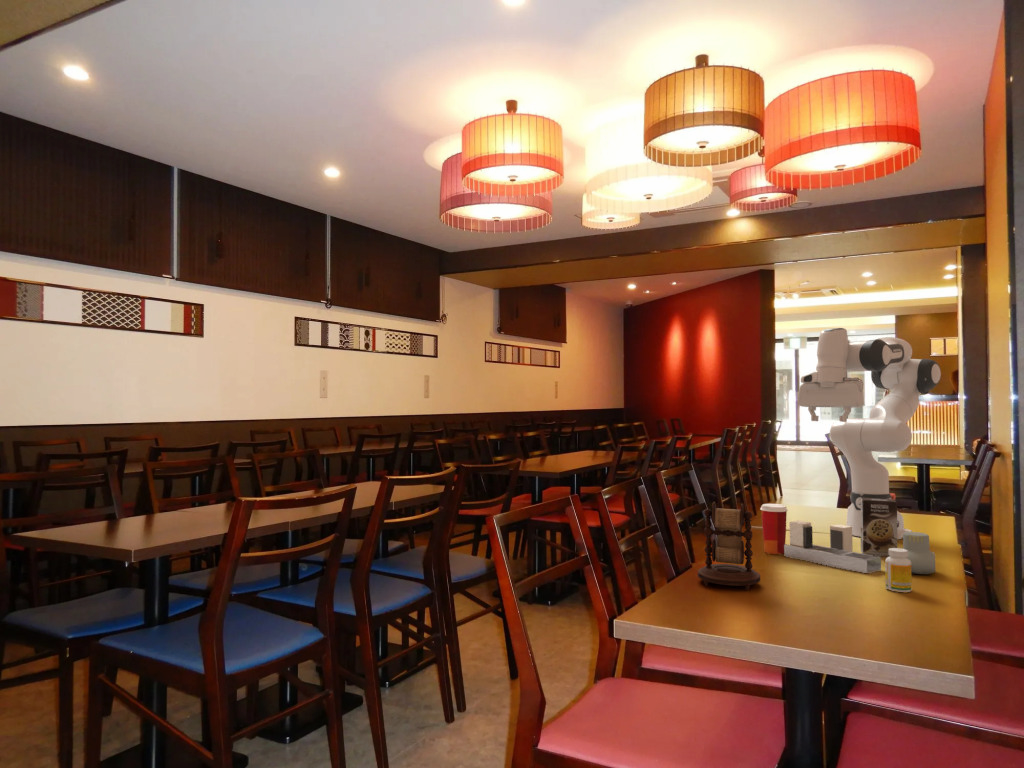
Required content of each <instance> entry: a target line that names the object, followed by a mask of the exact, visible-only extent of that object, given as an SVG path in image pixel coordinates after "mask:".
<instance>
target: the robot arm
mask: <svg viewBox="0 0 1024 768" xmlns="http://www.w3.org/2000/svg"><path fill="white" fill-rule="evenodd" d="M816 356H817V364H816V368H815V371H812V372H811V373H810V372H809V374H806V375H803V376H801V377H800V383H802V384H800V386H799V389H798V394H797V404H798V405H799V407H804V408H808V409H807V410H808V412H809V414H810V421H811V422H819V415H817V413H816V411H817V408H843V409H842V411H844V412H843V414H842V415H839V419H838V420H835V421H834V422H833V423H832V425H831V427H830V429H829V439H830V440H831V443H832V444H833V446H835V447H836V448H837V449H838V450H839V451H841V452H842V453H843V455H844V457H845V459H846V461H847V462H848V466H849V470H850V478H851V491H850V494H849V497H850V502H851V504H850V505H848V507H847V512H846V513H847V514H846V526H852V536H855V537H860V538H861V498H878V499H894V500H895V501H896V493H890V476H889V471H888V468H886V467H885V466H884V465H883V464H881V463H880V462H879V461H877V460H876V459H875V457H874V456H873V453H872V452H879V453H894V452H902V451H905V450H907V449H908V447H909V446H910V445H911V442H912V439H913V434H912V430H911V427H910V426H909V425H908V424H907V423H908V422H909V421H910V420H911V418H912V417H914V414H915V413H916V411H917V410H918V408H919V405H920V399H919V396H920V395H924V396H925V395H928V394H929V393H930V391H931V390H933V389H934V388H936V387H937V386H938V385H939V383H940V381H941V377H942V371H941V367H940V364H939V363H938V362H937V361H936V360H934V359H930V358H929V359H928V358H919V359H918V358H912V356H913V347H912V345H911V344H910V343H909V342H908V341H906V340H905V339H902V338H899V337H893V336H891V337H890V336H889V337H888V336H886V337H877V338H875V339H870V340H859V341H858V340H856V341H855V340H854V341H851V340H849V339H848V331H847V329H846V328H843V327H836V328H825V329H823V330H821V331H820V334H819V337H818V342H817V350H816ZM847 372H871V373H870V377H871V381H872V383H873V385H875V387H876V388H877V389H878V388H879V389H883V390H891V392H888V394H886V395H884V396H883V398H882V399H880V400H879V401H878V402H877V403H876V404H875V405H874V406H873V407H872V408H871V409H870V412H869V418H862V417H861V418H860V417H859V418H856V417H854V418H853V417H849V415H851V414H850V413H851V412H852V409H853V408H857V409H860V408H862V407H863V406H864V401H865V400H864V381H863V380H862V379H861V378H859V377H855V376H854V377H847V376H848V375H847V374H848V373H847ZM848 417H849V418H848ZM904 525H905V524H904V516H903V515H902V514H901V512H899V511H898V510H897V540H902V539H903V534H904V533H905V532H913V531H912V530H911V529H907V528H905V526H904Z"/></svg>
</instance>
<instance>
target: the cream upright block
mask: <svg viewBox="0 0 1024 768" xmlns="http://www.w3.org/2000/svg"><path fill="white" fill-rule="evenodd" d="M829 540H830V542H829V543H830V544H829V546H830V548H835V549H840V550H846V551H851V552H854V551H853V535H852V526H846V525H845V524H833V525H829Z"/></svg>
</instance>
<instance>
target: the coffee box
mask: <svg viewBox="0 0 1024 768" xmlns="http://www.w3.org/2000/svg"><path fill="white" fill-rule="evenodd" d="M897 511H898V502H897V500H896V499H895V500H894V499H878V498H861V537H860V551H861V553H862V554H867V555H874V556H878V557H886V558H887V557H890V555H889V554H888V553H889V549H890V548H898V539H897Z"/></svg>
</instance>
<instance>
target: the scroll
mask: <svg viewBox="0 0 1024 768" xmlns="http://www.w3.org/2000/svg"><path fill="white" fill-rule="evenodd" d="M703 513H704V516H705V517H704V519H706V520H705V523H704V525H705V528H704V530H703V533H704V535H705V538H706V539H705V545H706V546H705V547H704V552H705V556H706V558H705V561H704V562H705V564H706V565H704V566H702V567H701V568H699V569H698V570H697V578H698V579H700V580H702V581H703V583H704V586H705V587H709V583H711V584H716V585H721V586H722V585H723V586H733V587H735V586H738V587H739V586H743V587H744V589H745V591H749V589H750V585H756V584H759V583H760V582H761V574H760V573H759V572H757V571H756V570H755V569H753V563H752V561H751V560H752V559H753V558H752V556H753V554H754V553H753V550H752V548H753V547H752V540H753V531H752V524H751V522H752V517H753V514H752V512H751V511H750V510H747V511H745V505H744V503H741V506H740V509H735V508H721V507H720V508H717V504H716V501H713V502H712V506H711V509H710V508H706V509H705V510H704V512H703ZM712 524H713V525H714V528H716V529H714V530H713V528H712ZM743 526H744V529H745V530H743ZM713 535H715V536H717V539H716V538H713V539H711V538H712V536H713ZM743 537H744V540H745V543H744V541H743ZM716 541H717V542H716ZM745 548H746V549H745ZM744 560H746V561H745V564H744ZM713 562H716V563H715V564H713ZM743 564H744V565H743Z"/></svg>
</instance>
